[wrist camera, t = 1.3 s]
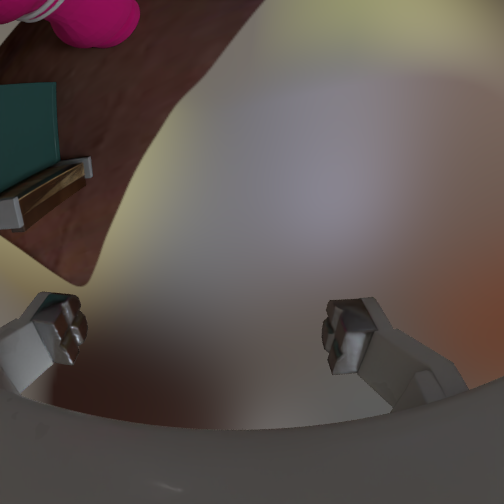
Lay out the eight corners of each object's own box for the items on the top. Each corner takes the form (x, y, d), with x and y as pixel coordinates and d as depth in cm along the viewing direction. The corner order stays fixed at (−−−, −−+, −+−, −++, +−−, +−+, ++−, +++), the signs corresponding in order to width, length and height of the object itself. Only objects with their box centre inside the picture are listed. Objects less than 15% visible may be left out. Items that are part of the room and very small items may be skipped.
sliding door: (34, 169, 25) (-34, 207, 15) (83, 162, 26) (16, 200, 16) (37, 190, 27) (-26, 234, 17) (86, 185, 27) (24, 232, 17)
